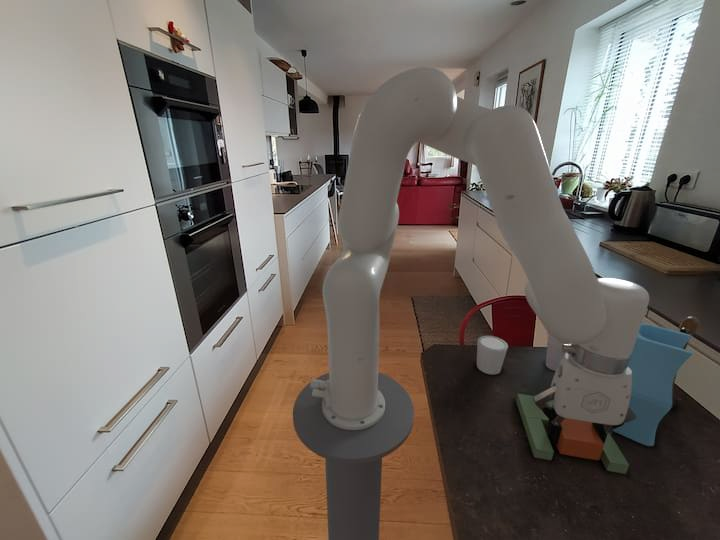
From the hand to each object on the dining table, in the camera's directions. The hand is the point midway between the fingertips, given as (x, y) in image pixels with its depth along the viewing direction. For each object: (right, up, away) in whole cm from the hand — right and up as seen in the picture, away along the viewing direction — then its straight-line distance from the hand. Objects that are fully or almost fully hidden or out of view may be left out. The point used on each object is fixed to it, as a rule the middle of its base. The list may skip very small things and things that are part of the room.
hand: (573, 440), depth 58 cm
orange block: (0, 0, 0) cm, 1 cm away
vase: (+14, 0, +6) cm, 15 cm away
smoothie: (+10, +6, +23) cm, 26 cm away
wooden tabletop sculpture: (+26, +2, +12) cm, 29 cm away
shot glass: (-6, +6, +22) cm, 24 cm away
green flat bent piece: (+1, 0, +4) cm, 4 cm away
